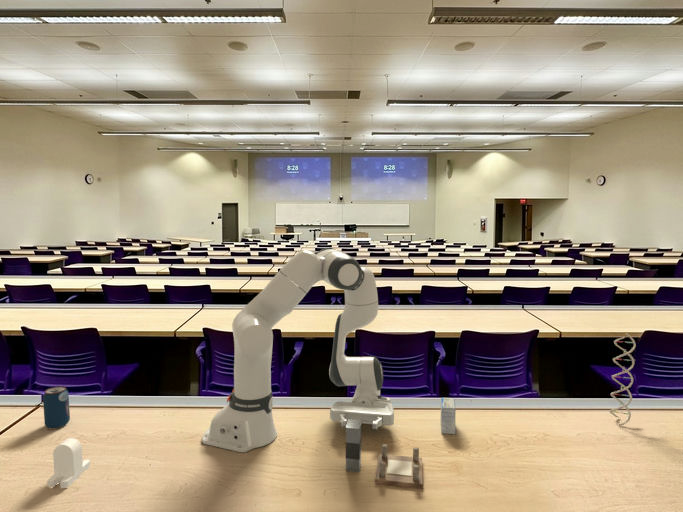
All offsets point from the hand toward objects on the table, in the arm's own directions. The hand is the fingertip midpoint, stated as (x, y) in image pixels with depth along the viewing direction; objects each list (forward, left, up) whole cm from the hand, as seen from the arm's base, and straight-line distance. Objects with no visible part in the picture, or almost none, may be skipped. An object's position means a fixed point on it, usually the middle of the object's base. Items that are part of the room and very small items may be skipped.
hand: (359, 425), depth 129 cm
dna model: (+84, +29, -6) cm, 89 cm away
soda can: (-99, -5, -6) cm, 99 cm away
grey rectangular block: (0, -12, -6) cm, 13 cm away
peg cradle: (+13, -12, -6) cm, 18 cm away
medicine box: (+27, +15, -6) cm, 32 cm away
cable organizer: (-73, -29, -6) cm, 79 cm away
